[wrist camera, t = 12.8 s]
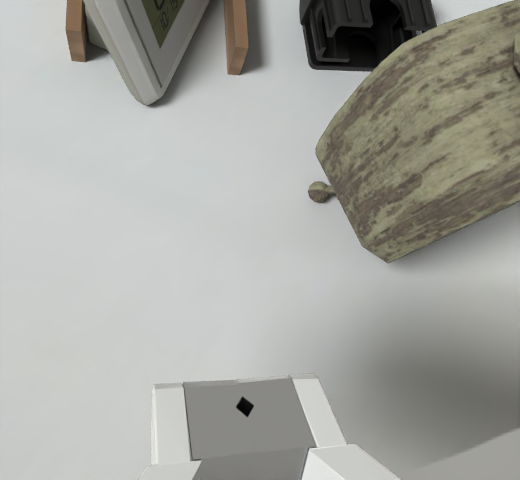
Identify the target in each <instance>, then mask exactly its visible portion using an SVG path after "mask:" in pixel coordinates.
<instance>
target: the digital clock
mask: <svg viewBox="0 0 520 480" xmlns="http://www.w3.org/2000/svg"><path fill="white" fill-rule="evenodd" d="M83 1H84V3H85V5H86V6H85V11H86V19H87V26H88V34H89V40H90V42H91V43H92V44H94V45H96V46H98V47H100V48H103V49H105V50H107V51H109V53H110V55H111V57H112V59H113V60H114V62H115V64H116V66H117V68H118V70H119V72H120V74H121V76H122V78H123V80H124V82H125V84H126V86H127V87H128V89H129V91H130V92H131V94H132V95H133V96H134V98H135V99H136V100H137V101H139V102H140V103H142V104H145V105H150V104H151V103H153V102H155V101H156V100H158V99H159V98H161V97H162V96H163V94H164V93H165V91H166V89H167V87H168V85H169V83H170V81H171V79H172V77H173V75H174V73H175V71H176V69H177V67H178V65H179V63H180V61H181V59H182V57H183V55H184V53H185V51H186V49H187V46H188V44H189V42H190V40H191V38H192V36H193V34H194V32H195V30H196V28H197V26H198V24H199V22H200V20H201V18H202V16H203V14H204V12H205V10H206V8H207V6H208V4H209V1H210V0H83Z"/></svg>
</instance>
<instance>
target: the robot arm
mask: <svg viewBox="0 0 520 480" xmlns="http://www.w3.org/2000/svg"><path fill="white" fill-rule="evenodd" d="M138 480H401V479H400V478H399V477H397V476H396V475H395V474H394V473H392V472H391V471H390V470H388V469H387V468H386V467H385V466H383V465H382V464H381V463H379V462H378V461H377V460H376V459H374V458H373V457H372V456H370V455H369V454H368V453H367V452H365V451H364V450H363V449H361V448H360V447H359V446H358V445H356V444H347V442H346V440H345V438H344V435H343V433H342V431H341V429H340V426H339V424H338V422H337V420H336V417H335V415H334V413H333V410H332V408H331V406H330V404H329V401H328V399H327V397H326V395H325V392H324V390H323V388H322V386H321V383H320V381H319V379H318V377H317V376H316V375H315V374H314V373H311V374H299V375H288V376H273V377H261V378H248V379H236V380H223V381H200V382H183V383H168V384H153V393H152V428H151V466H147V467H146V468H145V470H144V471H143V473H142V475H141V476H140V478H139V479H138Z"/></svg>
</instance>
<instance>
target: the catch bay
mask: <svg viewBox="0 0 520 480" xmlns="http://www.w3.org/2000/svg"><path fill="white" fill-rule="evenodd" d="M85 6H86V5H85V3H84V1H83V0H67V12H66V34H67V39H68V44H69V49H70V54H71V59H72V61H82V62H86V38H87V19H86V11H85ZM224 15H225V34H226V53H227V72H228V74H233V75H240V72H241V69H242V66H243V63H244V60H245V57H246V54H247V51H248V48H249V47H248V31H247V16H246V1H245V0H224Z"/></svg>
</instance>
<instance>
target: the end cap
mask: <svg viewBox="0 0 520 480" xmlns="http://www.w3.org/2000/svg"><path fill="white" fill-rule="evenodd" d="M299 11H300V23H301V25H303V33H304V39H305V45H306V51H307V57H308V63H309V65H310V67H311V68H312V69H317V70H346V71H373V70H374V69H375V68H376V67H377V66H378V65H379V64H380V63H381V62H382V61H383V60H384V59H386V58H387V57H388V56H389V55H390V54H391V53H392V52H394V51H395V50H396V49H397V48H398V47H399V46H400V45H401V44H403V43H404V42H406V41H408V40H410V39H412V38H414V37H416V36H417V35H416V31H415V30H418V31H422V33H424V32H426V31H428V30H430V29H433V28H435V27H437V24H436V20H435V16H434V12H433V8H432V4H431V0H300V9H299Z"/></svg>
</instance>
